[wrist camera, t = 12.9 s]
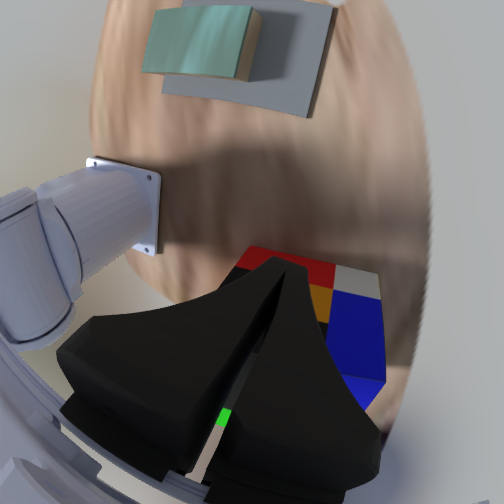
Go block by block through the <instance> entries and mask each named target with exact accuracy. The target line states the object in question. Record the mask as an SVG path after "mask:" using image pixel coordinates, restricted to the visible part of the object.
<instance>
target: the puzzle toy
mask: <svg viewBox="0 0 504 504" xmlns="http://www.w3.org/2000/svg"><path fill="white" fill-rule="evenodd" d="M272 256H276V257H279V258H282V259H285V260H288V261H290V262H293V263H296V264H299V265H302V266H304V267H307V269H308V278H309V286H310V292H311V297H312V301H313V305H314V310H315V313H316V317H317V320H318V323H319V326H320V329H321V332H322V335H323V338H324V340H325V343H326V345H327V348H328V350H329V352H330V354H331V356H332V359H333V361H334V363H335V365H336V367H337V368H338V370H339V372H340V374H341V376H342V378H343V379H344V381H345V383H346V385H347V386H348V388H349V389H350V391H351V392H352V394H353V396H354V397H355V399H356V400H357V402H358V403H359V405H360V406H361V407H362V409H363V410H364V411H365V410H366V408H367V407H368V406H369V405H370V403H371V402H372V401H373V399H374V398H375V397H376V395H377V394H378V393H379V391H380V390H381V389H382V387H383V386H384V384H385V383H386V355H385V337H384V324H383V313H382V304H381V295H380V287H379V280H378V274H375V273H371V272H367V271H362V270H358V269H353V268H349V267H345V266H340V265H336V264H331V263H327V262H322V261H318V260H313V259H309V258H305V257H300V256H296V255H291V254H287V253H282V252H278V251H273V250H268V249H264V248H259V247H255V246H250V247H249V248H248V249H247V250H246V252H245V253H244V254H243V256H242V257H241V258H240V260H239V261H238V262H237V264H236V265H235V266H234V268H233V269H232V270H231V272H230V273H229V274H228V276H227V277H226V278H225V280H224V281H223V282H222V284H221V285H220V286H219V288H218V289H220V288H222V287H224V286H226V285H228V284H229V283H231V282H233V281H235V280H237V279H239V278H241V277H242V276H244V275H245V274H247V273H249V272H250V271H252V270H253V269H255V268H256V267H258V266H259V265H261V264H262V263H263V262H265V261H266V260H267V259H269V258H270V257H272ZM218 289H217V290H218ZM265 329H266V328H265ZM264 333H265V330H264V331H263V333H262V335H261V337H260V339H259V340H258V342H257V344H256V346H255V347H254V349H253V351H252V353H251V354H250V356H249V358H248V360H247V361H246V363H245V365H244V366H243V368H242V370H241V372H240V373H239V375H238V377H237V379H236V381H235V383H234V385H233V387H232V390H231V392H230V394H229V396H228V398H227V400H226V402H225V404H224V407H223V409H222V411H221V413H220V415H219V417H218V419H217V421H216V423H215V424H217V425H220V426H223V427H225V426H226V424H227V421H228V419H229V416H230V413H231V411H232V408H233V406H234V404H235V402H236V400H237V398H238V396H239V394H240V392H241V390H242V388H243V386H244V384H245V382H246V380H247V377H248V375H249V373H250V371H251V369H252V367H253V364H254V362H255V360H256V358H257V356H258V352H259V349H260V346H261V343H262V339H263V336H264Z"/></svg>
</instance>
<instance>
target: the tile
mask: <svg viewBox="0 0 504 504" xmlns="http://www.w3.org/2000/svg"><path fill="white" fill-rule="evenodd" d="M262 22H263V18H262V17H261V16H260V15H259V14H258V13H257V12H256V11H255V10H254V8H253V7H252V6H236V5H214V6H193V7H180V8H171V9H163V10H156V12H155V15H154V19H153V22H152V26H151V30H150V34H149V38H148V42H147V47H146V51H145V56H144V60H143V65H142V71H141V72H143V73H153V74H161V75H183V76H197V77H208V78H218V79H226V80H234V81H241V82H247V83H248V79H249V74H250V70H251V66H252V62H253V57H254V53H255V49H256V45H257V41H258V37H259V33H260V29H261V26H262Z"/></svg>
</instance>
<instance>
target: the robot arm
mask: <svg viewBox="0 0 504 504" xmlns="http://www.w3.org/2000/svg"><path fill="white" fill-rule="evenodd" d="M150 176H151V178H152V179H150ZM160 187H161V176H160V174H159V173H157V172H153V171H149V170H145V169H141V168H137V167H133V166H129V165H125V164H121V163H117V162H112V161H108V160H104V159H99V158H95V157H89V158H88V159H87V162H86V168H83V169H80V170H78V171H75V172H72V173H69V174H66V175H64V176H61V177H58V178H56V179H53V180H51V181H48V182H46V183H44V184H42V185H40V186H39V187H38V188H36V189H35V190H33V191H32V189H30V188H29V187H25V188H22V189H19V190H17V191H14V192H12V193H10V194H7V195H5V196H3V197H1V198H0V504H140V503H138V502H137V501H135V500H133V499H131V498H129V497H128V496H126V495H124V494H123V493H121V492H119V491H118V490H116V489H114V488H113V487H111V486H110V485H108V484H107V483H105V482H104V481H102V480H101V479H99V478H98V477H97V474H98V473H99V471H100V470H101V468H102V466H101V464H99V463H98V462H97V461H95V460H94V459H93V458H91V457H90V456H89V455H88V454H86V453H85V452H84V451H83V450H82V449H81V448H80V447H79V446H77V445H76V444H75V443H74V442H73V441H71V440H70V439H69V438H68V437H67V436H66V435H64V434H63V433H62V432H61V425H60V423H61V424H62V425H63V426H65V427H66V428H67V429H68V430H69V431H70V432H72V433H73V434H74V435H75V436H77V437H78V438H79V439H80V440H82V441H83V442H84V443H85V444H87V445H88V446H89V447H91V448H92V449H93V450H95V451H96V452H98V453H99V454H100V455H102V456H103V457H104V458H106V459H107V460H109V461H110V462H112V463H113V464H115V465H116V466H118V467H119V468H121V469H123V470H124V471H126V472H128V473H129V474H131V475H132V476H134V477H136V478H138V479H139V480H141V481H143V482H145V483H146V484H149V485H150V486H152V487H154V488H156V489H158V490H160V491H162V492H164V493H166V494H168V495H170V496H172V497H174V498H176V499H179V500H181V501H183V502H186V503H188V504H342V503H343V501H344V497H345V492H346V491H347V490H350V489H352V488H355V487H358V486H360V485H363V484H365V483H367V482H369V481H371V480H372V479H374V478H375V477H376V476H377V474H378V473H379V468H380V459H381V432H380V431H379V429H378V428H377V427H376V425H375V424H374V423H373V421H372V420H371V419H370V418H369V416H368V415H367V414H366V412H365V411H364V410H363V409H362V407H361V406H360V405H359V403H358V402H357V400H356V399H355V397H354V396H353V394H352V392H351V391H350V389H349V388H348V386H347V385H346V383H345V381H344V379H343V378H342V376H341V374H340V372H339V370H338V368H337V367H336V365H335V363H334V361H333V359H332V356H331V354H330V352H329V350H328V348H327V345H326V343H325V340H324V338H323V335H322V332H321V329H320V326H319V323H318V320H317V317H316V313H315V310H314V305H313V301H312V297H311V292H310V286H309V278H308V269H307V267H304V266H302V265H299V264H296V263H293V262H290V261H288V260H285V259H282V258H279V257H276V256H272V257H270V258H269V259H267V260H266V261H265V262H263V263H262V264H261V265H259V266H258V267H256V268H255V269H253V270H252V271H250V272H249V273H247V274H245V275H244V276H242V277H241V278H239V279H237V280H235V281H233V282H231V283H229V284H228V285H226V286H224V287H222V288H220V289H218V290H215V291H213V292H211V293H208V294H206V295H203V296H201V297H198V298H196V299H193V300H190V301H186V302H183V303H179V304H176V305H172V306H169V307H164V308H160V309H155V310H150V311H144V312H137V313H129V314H119V315H105V316H93V317H92V318H90V319H89V320H88V321H87V322H85V323H84V324H83V325H82V326H81V327H80V328H79V329H78V330H77V331H76V332H75V333H73V335H71V337H69V339H67V340H66V341H65V342H64V343H63V344H62V345H61V346H60V347H59V348H58V350H57V351H56V355H57V361H58V363H59V366H60V368H61V369H62V371H63V373H64V375H65V376H66V378H67V380H68V382H69V383H70V385H71V387H72V388H73V390H74V391H75V392H74V393H73V394H72V395H71V397H70V398H69V399H68V400H67V401H65V400H64V399H63V398H62V397H61V396H60V395H59V394H58V393H56V392H55V391H54V390H53V389H52V388H51V387H50V386H49V385H48V384H47V383H46V382H45V381H44V380H43V379H41V377H40V376H39V375H38V374H37V373H36V372H35V371H34V370H33V369H32V368H31V367H30V366H29V365H28V364H27V363H26V362H25V361H24V360H23V359H22V357H21V356H20V355H19V354H18V353H19V352H22V351H27V350H37V349H41V348H44V347H47V346H48V345H51V344H52V343H54V342H55V341H57V340H58V339H59V338H60V337H61V336H62V335H63V334H64V333H65V332H66V331H67V329H68V328H69V326H70V324H71V323H72V321H73V319H74V316H75V313H76V307H75V304H74V301H75V300H76V299H78V298H79V297H80V296H81V295H83V292H82V289H81V284H83V283H84V282H85V281H87V280H88V279H89V278H90V277H92V276H93V275H94V274H96V273H97V272H98V271H100V270H101V269H102V268H104V267H105V266H107V265H108V264H109V263H110V262H112V261H113V260H115V259H116V258H117V257H119V256H120V255H122V254H123V253H125V252H126V251H127V250H129V249H130V248H134V249H136V250H138V251H141V252H143V253H145V254H147V255H150V256H155V255H156V254H157V240H158V217H159V200H160ZM147 248H148V249H147ZM265 328H266V329H265ZM264 330H265V333H264V336H263V339H262V343H261V346H260V349H259V352H258V356H257V358H256V360H255V362H254V364H253V367H252V369H251V371H250V373H249V375H248V377H247V380H246V382H245V384H244V386H243V388H242V390H241V392H240V394H239V396H238V398H237V400H236V402H235V404H234V406H233V408H232V411H231V413H230V416H229V419H228V421H227V424H226V426H225V429H224V431H223V434H222V436H221V439H220V441H219V444H218V446H217V448H216V451H215V452H214V455H213V457H212V459H211V460H210V462H209V465H208V467H207V468H206V472H205V475H204V477H203V480H202V482H201V484H200V483H198V482H195V481H193V480H191V479H188V478H186V477H184V476H185V475H186V474H187V473H191V472H192V471H193V469H194V467H195V465H196V462H197V461H198V458H199V456H200V454H201V452H202V450H203V448H204V446H205V444H206V442H207V439H208V438H209V436H210V434H211V432H212V430H213V428H214V425H215V423H216V421H217V419H218V417H219V415H220V413H221V411H222V409H223V407H224V404H225V402H226V400H227V398H228V396H229V394H230V392H231V390H232V387H233V385H234V383H235V381H236V379H237V377H238V375H239V373H240V372H241V370H242V368H243V366H244V365H245V363H246V361H247V360H248V358H249V356H250V354H251V353H252V351H253V349H254V347H255V346H256V344H257V342H258V340H259V339H260V337H261V335H262V333H263V331H264ZM474 504H489V500H485V501H482V502H479V503H474Z"/></svg>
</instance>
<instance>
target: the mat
mask: <svg viewBox="0 0 504 504" xmlns="http://www.w3.org/2000/svg"><path fill="white" fill-rule="evenodd" d="M214 5H236V6H252V7H253V8H254V10H255V11H256V12H257V13H258V14H259V15H260V16H261V17H262V18H263V22H262V26H261V29H260V33H259V37H258V41H257V45H256V49H255V53H254V57H253V62H252V66H251V70H250V74H249V79H248V83H247V82H241V81H234V80H226V79H218V78H208V77H197V76H183V75H165V77H164V82H163V88H162V93H163V94H175V95H186V96H195V97H203V98H211V99H217V100H224V101H230V102H236V103H242V104H247V105H252V106H257V107H262V108H266V109H271V110H275V111H280V112H284V113H288V114H292V115H296V116H299V117H303V118H307V115H308V111H309V107H310V103H311V99H312V95H313V91H314V87H315V83H316V79H317V75H318V71H319V67H320V62H321V58H322V54H323V50H324V46H325V42H326V37H327V33H328V29H329V25H330V20H331V16H332V12H333V6H328V5H323V4H318V3H312V2H306V1H300V0H183V3H182V6H181V7H193V6H214Z"/></svg>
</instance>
